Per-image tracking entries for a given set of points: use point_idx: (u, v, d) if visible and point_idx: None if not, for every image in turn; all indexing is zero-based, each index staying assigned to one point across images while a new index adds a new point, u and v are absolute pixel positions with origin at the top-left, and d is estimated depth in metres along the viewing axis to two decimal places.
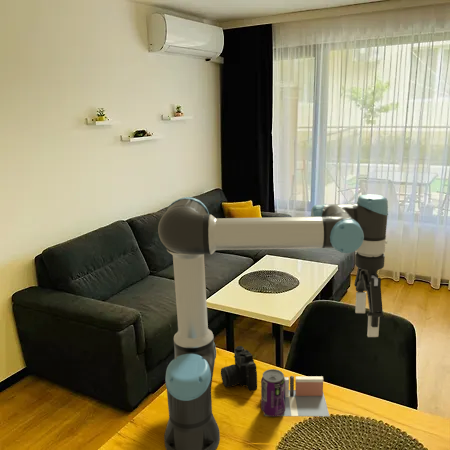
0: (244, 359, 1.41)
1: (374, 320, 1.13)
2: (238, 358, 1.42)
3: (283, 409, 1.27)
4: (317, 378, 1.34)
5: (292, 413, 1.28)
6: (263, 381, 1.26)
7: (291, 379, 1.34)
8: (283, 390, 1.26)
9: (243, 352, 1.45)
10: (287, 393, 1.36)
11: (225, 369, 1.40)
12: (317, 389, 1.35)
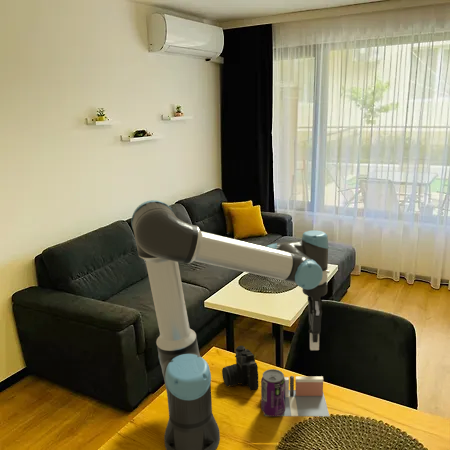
0: (246, 359, 1.41)
1: (314, 336, 1.36)
2: (239, 358, 1.42)
3: (283, 409, 1.27)
4: (317, 378, 1.34)
5: (292, 413, 1.28)
6: (263, 381, 1.26)
7: (291, 379, 1.34)
8: (283, 390, 1.26)
9: (244, 352, 1.45)
10: (287, 393, 1.36)
11: (226, 369, 1.41)
12: (317, 389, 1.35)
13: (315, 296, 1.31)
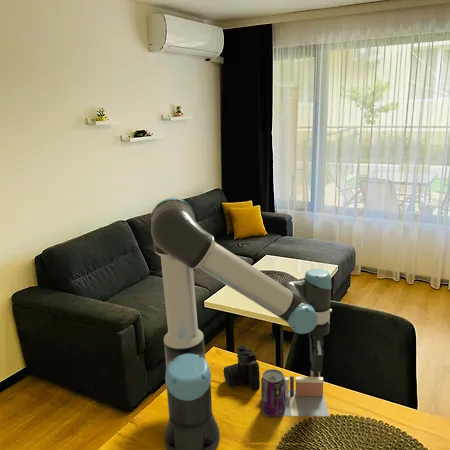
0: (247, 359, 1.42)
1: (315, 374, 1.35)
2: (241, 357, 1.42)
3: (283, 409, 1.27)
4: (317, 378, 1.34)
5: (292, 413, 1.28)
6: (263, 381, 1.26)
7: (291, 379, 1.34)
8: (283, 390, 1.26)
9: (246, 351, 1.45)
10: (287, 393, 1.36)
11: (228, 368, 1.41)
12: (317, 390, 1.34)
13: (317, 336, 1.29)
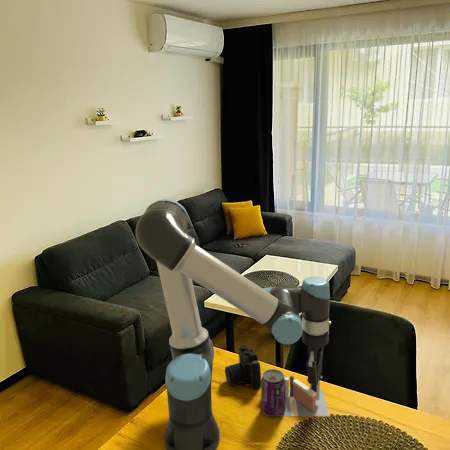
0: (249, 358, 1.42)
1: (312, 386, 1.29)
2: (242, 357, 1.42)
3: (283, 409, 1.27)
4: (309, 390, 1.28)
5: (292, 413, 1.28)
6: (263, 381, 1.26)
7: (291, 379, 1.34)
8: (283, 390, 1.26)
9: (247, 351, 1.45)
10: (287, 393, 1.36)
11: (229, 368, 1.41)
12: (308, 402, 1.29)
13: (311, 346, 1.23)
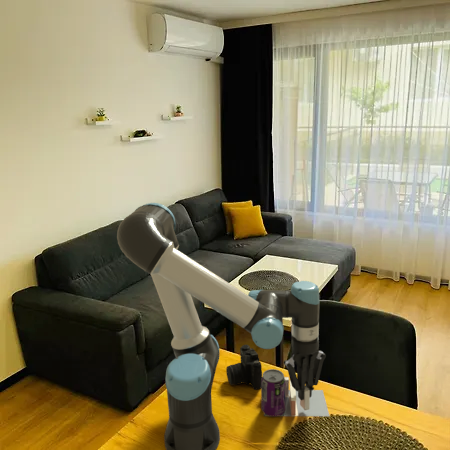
0: (250, 358, 1.42)
1: (298, 392, 1.26)
2: (243, 357, 1.43)
3: (283, 409, 1.27)
4: (292, 394, 1.27)
5: None
6: (263, 381, 1.26)
7: None
8: (283, 390, 1.26)
9: (249, 351, 1.45)
10: (287, 393, 1.36)
11: (230, 367, 1.41)
12: None
13: (293, 349, 1.22)
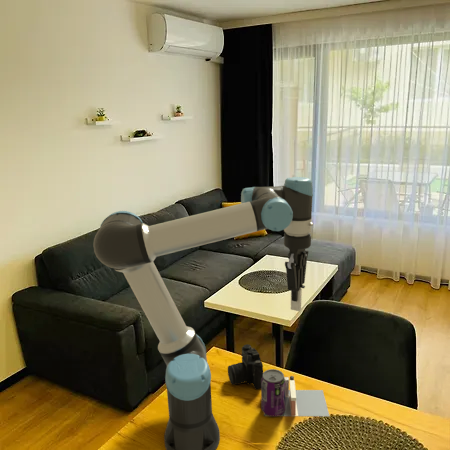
0: (251, 358, 1.42)
1: (293, 294, 1.25)
2: (245, 356, 1.43)
3: (283, 409, 1.27)
4: (292, 394, 1.27)
5: None
6: (263, 381, 1.26)
7: (291, 379, 1.34)
8: (283, 390, 1.26)
9: (250, 351, 1.46)
10: (287, 393, 1.36)
11: (232, 367, 1.41)
12: None
13: (291, 248, 1.20)
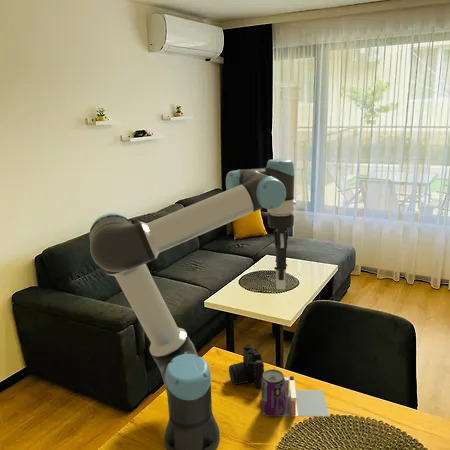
0: (252, 358, 1.42)
1: (280, 273, 1.29)
2: (246, 356, 1.43)
3: (283, 409, 1.27)
4: (292, 394, 1.27)
5: None
6: (263, 381, 1.26)
7: (291, 379, 1.34)
8: (283, 390, 1.26)
9: (251, 350, 1.46)
10: (287, 393, 1.36)
11: (233, 367, 1.42)
12: None
13: (280, 228, 1.23)
